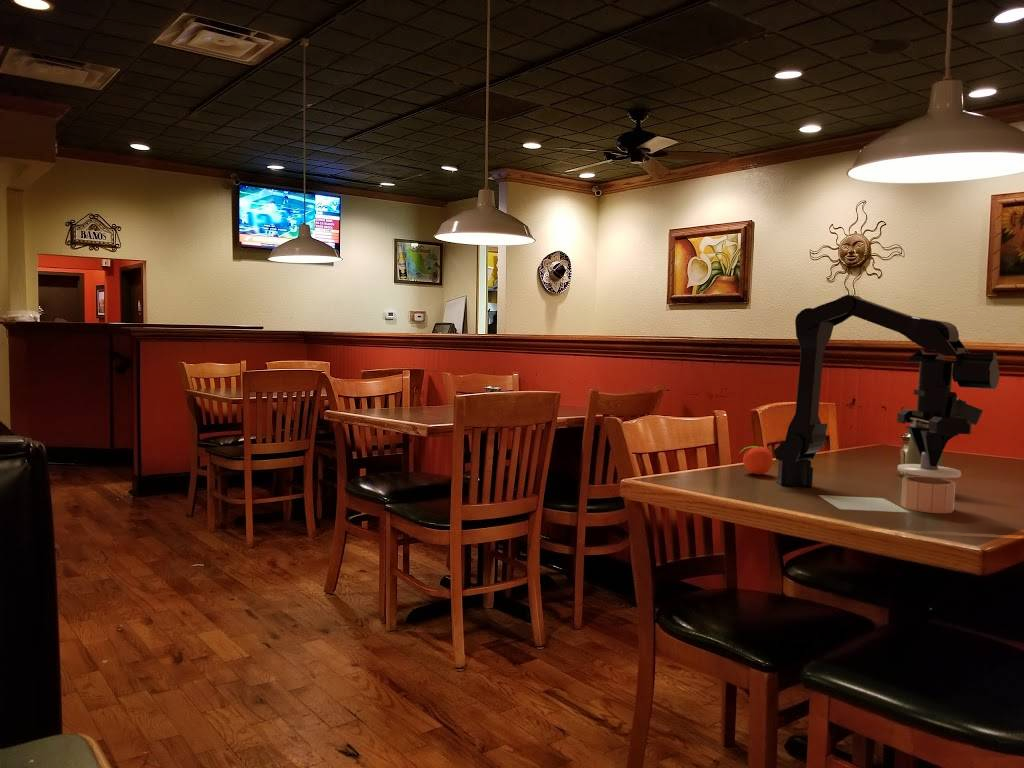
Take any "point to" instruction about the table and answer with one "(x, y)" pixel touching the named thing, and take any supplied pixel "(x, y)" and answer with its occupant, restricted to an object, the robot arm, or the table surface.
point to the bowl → (928, 494)
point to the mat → (863, 504)
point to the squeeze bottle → (917, 457)
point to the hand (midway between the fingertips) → (929, 464)
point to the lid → (928, 469)
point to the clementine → (757, 460)
